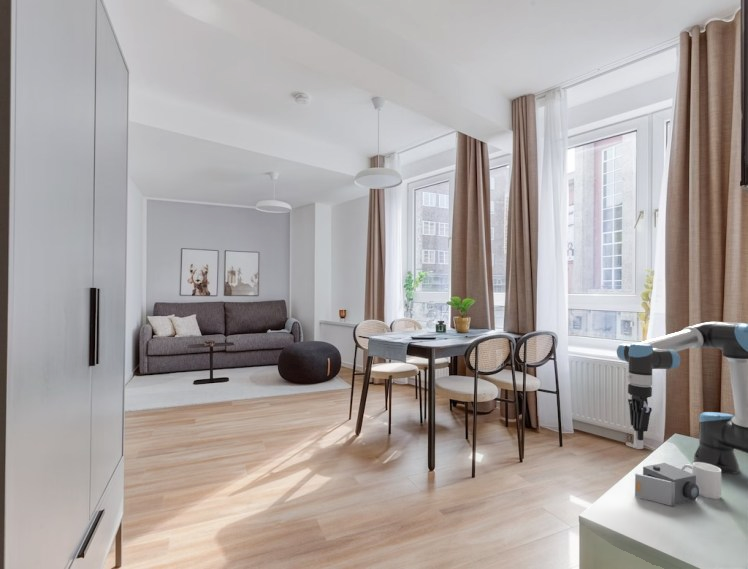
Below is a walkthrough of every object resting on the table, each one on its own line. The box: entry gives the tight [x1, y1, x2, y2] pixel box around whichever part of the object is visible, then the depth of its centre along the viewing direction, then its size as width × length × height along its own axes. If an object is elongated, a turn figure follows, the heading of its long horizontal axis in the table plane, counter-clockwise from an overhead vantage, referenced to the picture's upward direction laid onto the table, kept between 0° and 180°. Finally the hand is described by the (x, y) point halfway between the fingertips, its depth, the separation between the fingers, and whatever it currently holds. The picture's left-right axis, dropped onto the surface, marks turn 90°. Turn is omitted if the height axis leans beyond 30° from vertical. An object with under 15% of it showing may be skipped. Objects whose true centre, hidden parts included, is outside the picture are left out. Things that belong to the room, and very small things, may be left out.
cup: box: [680, 462, 722, 500], centre depth 151 cm, size 8×12×10 cm
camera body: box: [642, 462, 699, 506], centre depth 146 cm, size 12×13×10 cm
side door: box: [634, 473, 676, 507], centre depth 142 cm, size 2×12×8 cm, turn 56°
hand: (638, 447), depth 150 cm, fingers closed
